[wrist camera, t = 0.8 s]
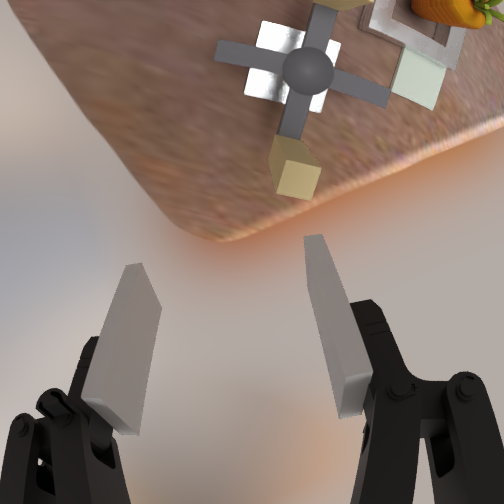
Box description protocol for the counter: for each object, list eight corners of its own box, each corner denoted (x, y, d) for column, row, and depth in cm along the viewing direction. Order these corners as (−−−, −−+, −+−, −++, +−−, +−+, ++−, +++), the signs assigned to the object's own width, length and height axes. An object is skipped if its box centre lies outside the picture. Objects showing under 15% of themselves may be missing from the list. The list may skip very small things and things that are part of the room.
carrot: (437, 24, 24) (531, 31, 12) (403, 31, 26) (495, 36, 13) (422, -15, 22) (513, -26, 10) (386, -9, 23) (473, -27, 11)
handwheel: (241, -39, 17) (243, -70, 11) (407, 17, 19) (457, 15, 13) (197, 143, 26) (184, 176, 20) (353, 178, 28) (385, 218, 22)
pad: (403, 43, 26) (405, 44, 26) (444, 65, 27) (447, 66, 27) (389, 90, 30) (391, 91, 29) (430, 109, 31) (432, 110, 30)
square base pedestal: (262, 21, 26) (269, 13, 20) (338, 43, 27) (363, 43, 21) (243, 93, 30) (245, 103, 24) (318, 111, 31) (337, 127, 26)
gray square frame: (379, -51, 20) (390, -57, 17) (459, -6, 22) (474, -7, 19) (357, 28, 26) (368, 26, 23) (440, 67, 28) (454, 70, 25)
